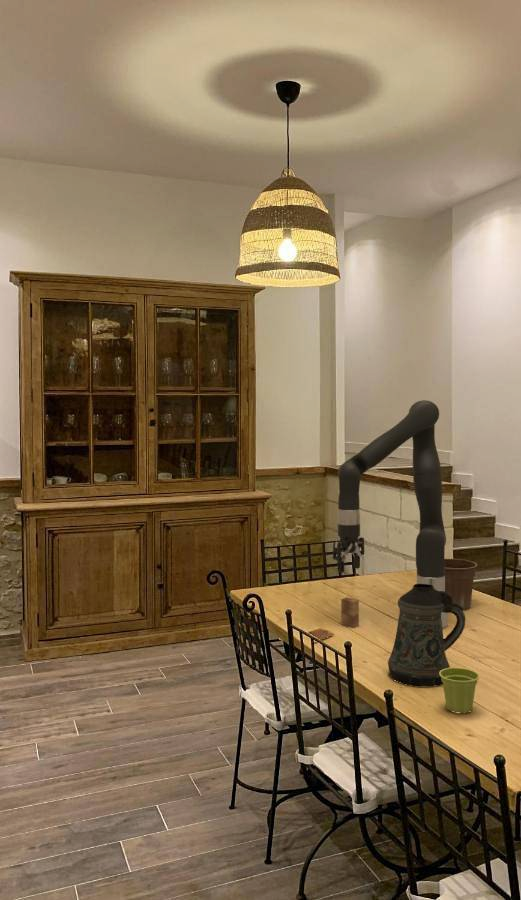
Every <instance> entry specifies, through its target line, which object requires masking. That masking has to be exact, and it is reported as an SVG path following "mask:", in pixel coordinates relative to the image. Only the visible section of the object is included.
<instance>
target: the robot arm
mask: <svg viewBox="0 0 521 900" xmlns="http://www.w3.org/2000/svg"><path fill="white" fill-rule="evenodd" d="M439 419H440V409H439V407H438V406H437V404H436V403H434V402H432V401H430V400H418V401H415V402H414V403H413V404H412V405H411V406H410V408H409V410H408V413H407V415H405V417H404V418H403V419H401V420H400V421H399V422H398V423H397V424H396V425H394V426H393V427H392V428H390V429H389V430H387V431H385V432H384V433H382V434H381V435H379V436H378V437H376V438H375V439H374V440H372V441H371V442H370V443H368V444H367V445H365V447H363V448H362V449H361V450H360V451H358V453H357V454H355V455H353V456H351V458H349V459H347V460H346V461H345V462H343V463H342V464H341V465H340V466H339V468H338V470H337V475H338V489H339V490H338V491H339V494H338V497H337V498H338V500H337V501H338V503H337V504H338V505H337V506H338V507H337V508H338V509H337V537H339V541H333V542H332V543H333V545H332V547H333V548H332V560H335V561H336V562H337V572H338V573H340V574H341V573H345V559H346V557H347V556H348V555H349V554H350V553H352V555H353V558H352V559H353V560H352V561H353V563H352V564H353V565H352V567H353V569H360V568H361V557H362V556H364V555H365V537H362V536H361V511H360V486H361V485H360V484H361V483H360V482H361V476H362V475H363V474H364V473H366V472H367V471H369V470H370V469H373V468H374V467H376V466H377V465H379V464H380V463H381V462H383V461H384V460H385V459H386V458H388V456H390V455H391V454H392V453H394V452H395V451H396V450H397V449H398V448H400V446H401V445H404V443H406V442H407V441H409V439H412V477H413V489H414V494H415V497H416V502H417V506H418V510H419V532H418V534H417V536H416V539H415V567H416V568H415V569H416V584H428V585H432V586H433V587H434V589H436V590H437V591H445V563H444V559H445V550H446V549H445V547H446V544H447V536H446V530H445V526H444V525H445V524H444V519H443V511H442V508H443V478H442V476H443V475H442V466H441V461H440V457H439V453H438V449H437V446H436V438H435V437H436V436H435V434H436V433H435V431H436V430H435V427H436V424H437V422H438V420H439ZM441 621H442V629H444V628H446V627H448V613H444V612H442V613H441Z"/></svg>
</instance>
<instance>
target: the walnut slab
mask: <svg viewBox="0 0 521 900" xmlns="http://www.w3.org/2000/svg"><path fill="white" fill-rule="evenodd" d="M359 603H360V600H359V599H356V598H351V597H346V596H345V597H343V598H341V603H340V604H341V605H340V606H341V607H340V608H341V610H340V611H341V615H340V616H341V618H340V619H341V620H340V621H341V622H340V624H341V625H342V627H345V626H346V627H345V628H349V627H350V629H353V628H354V629H356V628H359V627H360V623H359V622H360V620H359V618H360V616H359V615H360V607H359V606H360V605H359Z"/></svg>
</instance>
